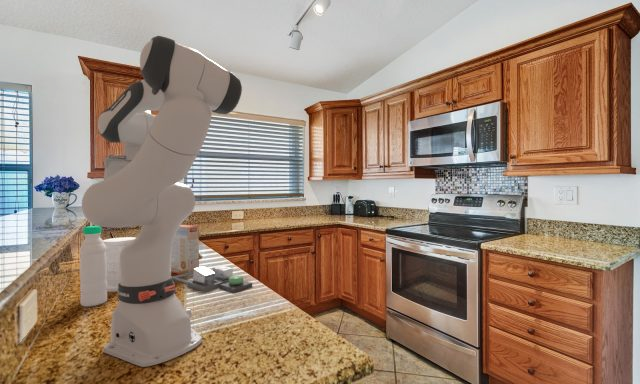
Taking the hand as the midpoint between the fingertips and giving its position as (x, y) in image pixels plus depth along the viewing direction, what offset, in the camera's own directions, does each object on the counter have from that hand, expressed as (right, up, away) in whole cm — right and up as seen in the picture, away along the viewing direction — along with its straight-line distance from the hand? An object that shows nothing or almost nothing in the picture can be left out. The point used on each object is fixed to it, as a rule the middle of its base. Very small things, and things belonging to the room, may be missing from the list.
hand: (139, 197), depth 106 cm
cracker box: (+2, -34, +29) cm, 45 cm away
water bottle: (-12, -35, -5) cm, 37 cm away
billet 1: (+19, -32, +8) cm, 38 cm away
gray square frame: (+12, -34, +18) cm, 40 cm away
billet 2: (+24, -32, +13) cm, 43 cm away
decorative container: (-14, -34, +11) cm, 39 cm away
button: (+31, -33, +6) cm, 46 cm away
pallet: (+22, -34, +10) cm, 42 cm away
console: (+31, -34, +6) cm, 46 cm away
